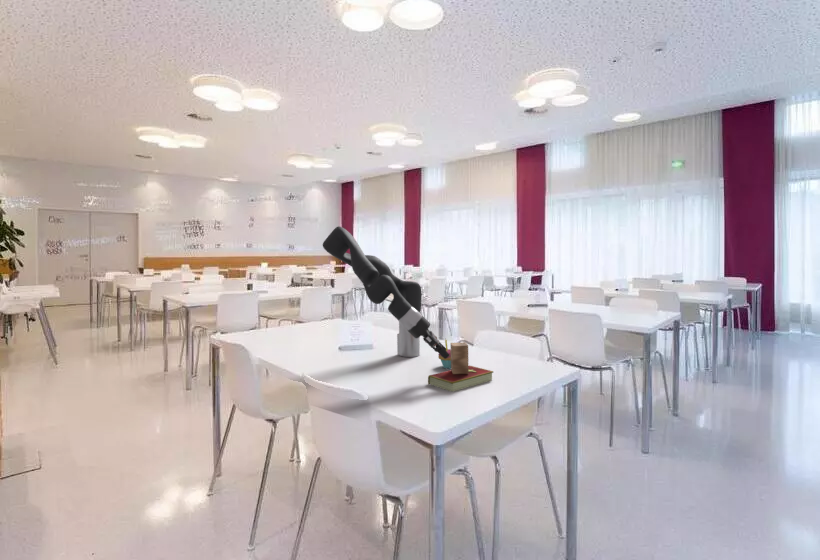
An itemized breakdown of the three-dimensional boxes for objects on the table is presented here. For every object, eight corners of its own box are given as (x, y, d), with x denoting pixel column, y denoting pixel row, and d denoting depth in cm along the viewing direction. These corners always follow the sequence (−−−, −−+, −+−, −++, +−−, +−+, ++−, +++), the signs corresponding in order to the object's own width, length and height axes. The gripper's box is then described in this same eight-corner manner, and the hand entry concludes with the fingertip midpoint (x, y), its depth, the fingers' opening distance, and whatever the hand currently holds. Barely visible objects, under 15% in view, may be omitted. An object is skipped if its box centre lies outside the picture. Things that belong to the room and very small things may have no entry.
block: (452, 374, 159) (452, 345, 158) (450, 370, 164) (450, 342, 164) (468, 373, 159) (468, 345, 158) (466, 369, 165) (465, 342, 164)
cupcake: (450, 370, 177) (450, 340, 176) (433, 367, 183) (433, 337, 182) (463, 366, 183) (463, 337, 182) (447, 363, 189) (446, 334, 188)
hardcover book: (427, 386, 159) (427, 374, 159) (468, 375, 173) (468, 364, 172) (452, 394, 150) (452, 381, 150) (493, 382, 164) (493, 370, 163)
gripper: (405, 326, 168) (436, 356, 169) (407, 333, 154) (440, 366, 155) (420, 311, 168) (450, 342, 169) (422, 317, 153) (456, 351, 155)
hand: (445, 354), depth 162 cm, fingers open, 8 cm apart
